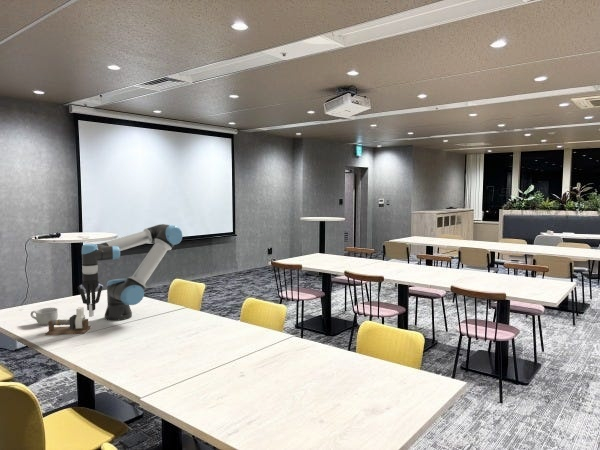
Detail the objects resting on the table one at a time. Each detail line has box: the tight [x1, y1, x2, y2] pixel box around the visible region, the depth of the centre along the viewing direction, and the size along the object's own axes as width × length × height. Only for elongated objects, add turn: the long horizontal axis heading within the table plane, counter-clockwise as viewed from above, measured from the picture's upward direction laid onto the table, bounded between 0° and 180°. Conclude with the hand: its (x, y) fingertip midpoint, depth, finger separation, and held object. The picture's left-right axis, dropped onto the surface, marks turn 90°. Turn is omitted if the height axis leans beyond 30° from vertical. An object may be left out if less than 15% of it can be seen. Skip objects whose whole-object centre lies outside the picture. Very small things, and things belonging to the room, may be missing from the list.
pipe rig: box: [44, 318, 92, 336], centre depth 230 cm, size 19×11×6 cm, turn 98°
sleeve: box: [75, 306, 86, 328], centre depth 231 cm, size 3×6×10 cm, turn 8°
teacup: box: [30, 307, 59, 326], centre depth 243 cm, size 14×11×8 cm
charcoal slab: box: [69, 314, 77, 330], centre depth 230 cm, size 2×6×6 cm, turn 8°
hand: (91, 316), depth 231 cm, fingers closed
